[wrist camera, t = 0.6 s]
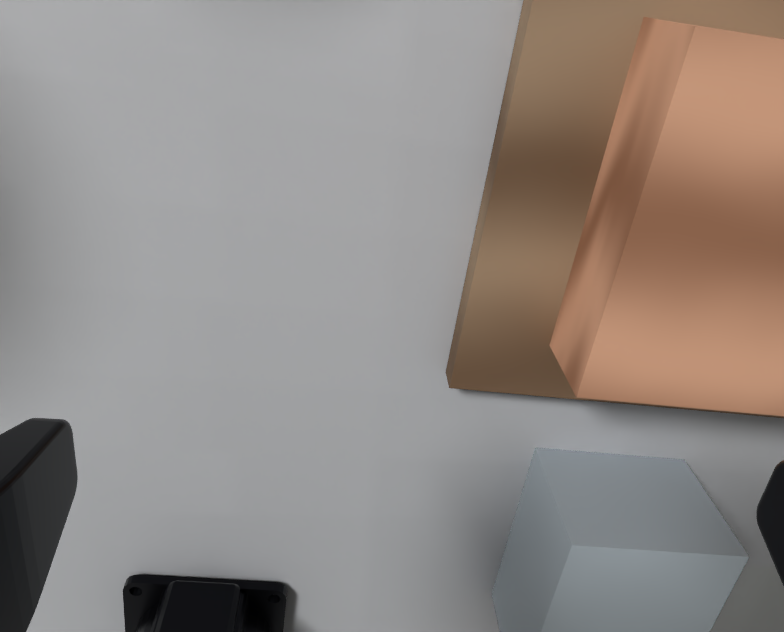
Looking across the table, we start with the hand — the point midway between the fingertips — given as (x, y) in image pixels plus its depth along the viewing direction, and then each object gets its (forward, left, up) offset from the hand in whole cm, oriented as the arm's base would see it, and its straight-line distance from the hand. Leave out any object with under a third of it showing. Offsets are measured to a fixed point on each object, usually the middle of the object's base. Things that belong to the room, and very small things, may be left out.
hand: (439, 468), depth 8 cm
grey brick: (-14, -10, -14) cm, 22 cm away
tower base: (0, -10, -13) cm, 17 cm away
